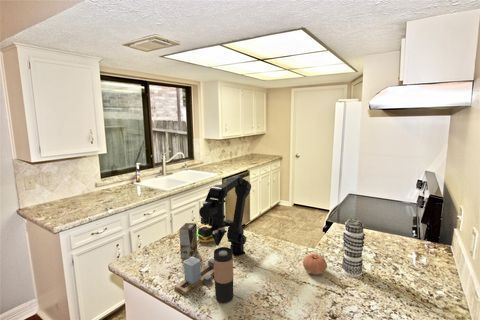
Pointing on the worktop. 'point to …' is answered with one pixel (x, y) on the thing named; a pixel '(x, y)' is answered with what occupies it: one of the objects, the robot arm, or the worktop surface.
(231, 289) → the travel mug
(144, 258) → the worktop surface
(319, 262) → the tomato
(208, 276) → the beam
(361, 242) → the grey white banded cylinder
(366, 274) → the worktop surface
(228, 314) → the worktop surface
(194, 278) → the block
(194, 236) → the coffee box
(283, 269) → the worktop surface
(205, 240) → the hamburger
